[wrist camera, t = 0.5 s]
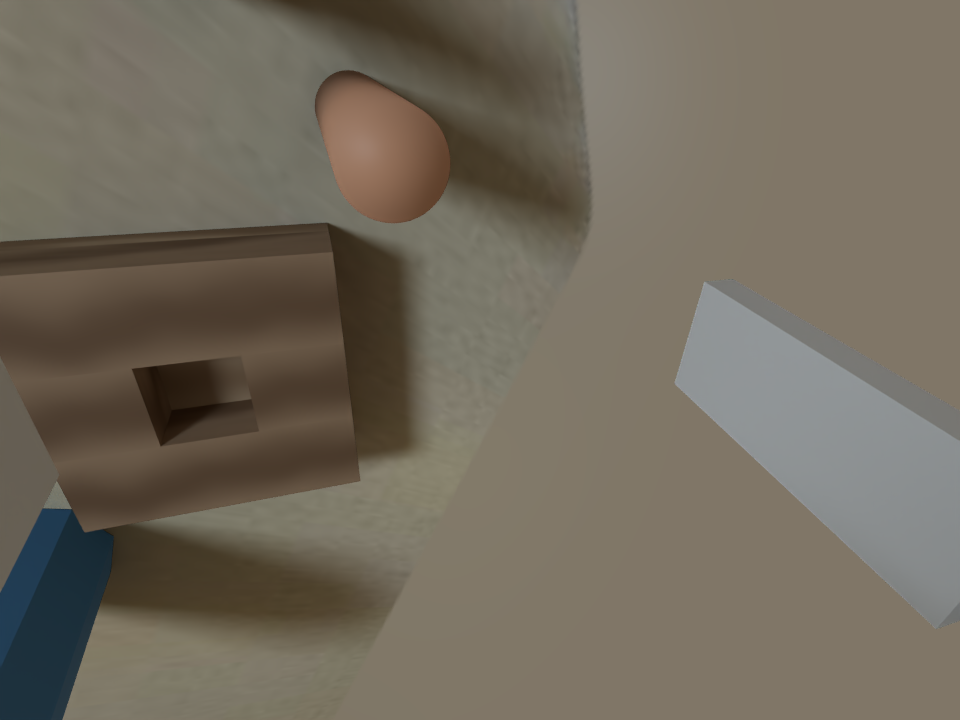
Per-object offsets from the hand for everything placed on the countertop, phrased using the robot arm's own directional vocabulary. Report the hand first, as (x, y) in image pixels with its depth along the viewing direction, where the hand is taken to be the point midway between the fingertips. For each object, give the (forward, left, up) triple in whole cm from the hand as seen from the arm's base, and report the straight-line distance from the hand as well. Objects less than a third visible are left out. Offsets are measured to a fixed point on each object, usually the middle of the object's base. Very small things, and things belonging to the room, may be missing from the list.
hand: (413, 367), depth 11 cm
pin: (-2, +1, -23) cm, 23 cm away
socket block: (+12, -9, -23) cm, 27 cm away
